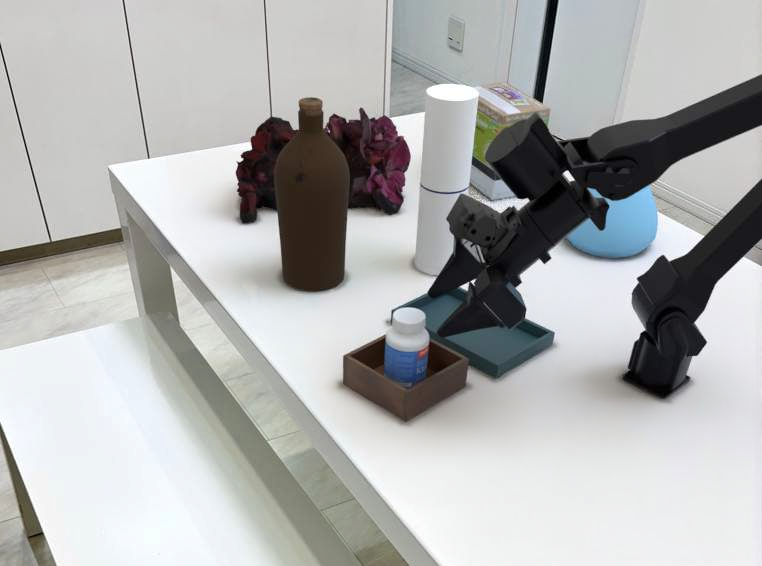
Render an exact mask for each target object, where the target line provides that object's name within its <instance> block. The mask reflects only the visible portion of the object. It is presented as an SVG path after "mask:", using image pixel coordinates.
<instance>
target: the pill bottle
mask: <svg viewBox="0 0 762 566" xmlns="http://www.w3.org/2000/svg"><path fill="white" fill-rule="evenodd" d="M425 320H426V316H425V313H424V312H423V311H421V310H419V309H416V308H410V307H406V308H400V309H398V310H396V311H395V312H394V313H393V319H392V323H391V326H390V327H389V328H388V329H387V331H386V333H385V334H386V343H385V362H384V376H385V377H387V378H389V379H390V380H392V381H394V382H396V383H397V384H399V385H401V386H402V387H404V388H406V389H407V390H408V389H409V388H411V387H413V386H415V385H417V384H418V383H420V382H422V381H424V380H425V379H426V371H427V360H428V349H429V333H428V332H427V330H426V329H425Z"/></svg>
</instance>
